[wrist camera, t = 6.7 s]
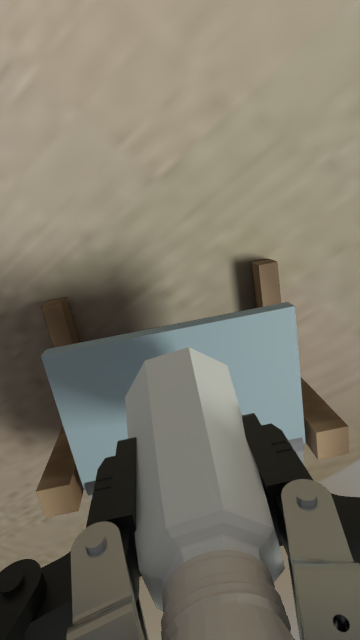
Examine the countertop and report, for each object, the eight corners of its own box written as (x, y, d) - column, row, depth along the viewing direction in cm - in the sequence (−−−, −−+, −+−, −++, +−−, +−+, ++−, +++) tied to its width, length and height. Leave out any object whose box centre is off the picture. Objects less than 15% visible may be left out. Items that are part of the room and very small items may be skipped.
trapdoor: (110, 468, 28) (99, 541, 22) (68, 321, 24) (39, 357, 18) (274, 434, 29) (311, 496, 22) (258, 284, 25) (296, 307, 19)
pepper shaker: (100, 394, 16) (9, 729, 6) (190, 322, 15) (281, 545, 5) (174, 465, 18) (212, 836, 7) (259, 402, 17) (441, 704, 6)
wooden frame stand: (95, 466, 33) (70, 582, 22) (45, 301, 28) (-17, 351, 17) (287, 425, 33) (351, 521, 23) (271, 258, 29) (343, 281, 18)
